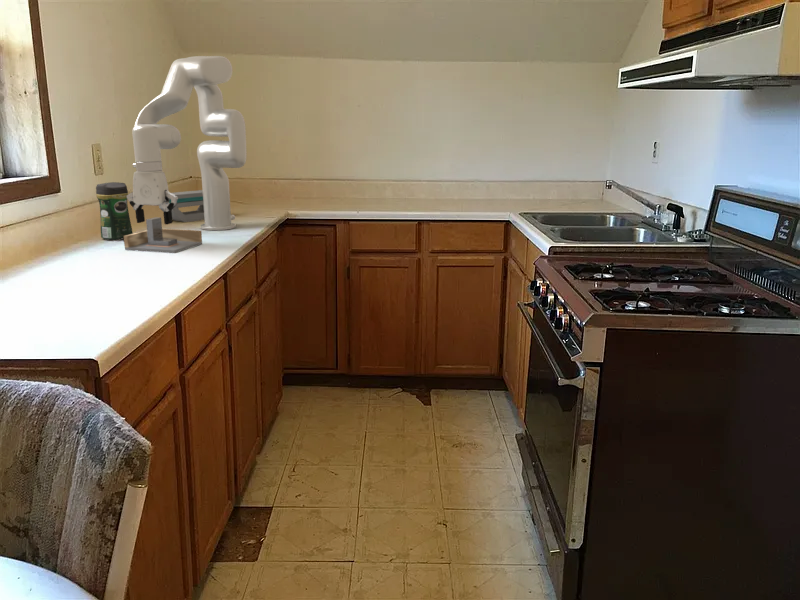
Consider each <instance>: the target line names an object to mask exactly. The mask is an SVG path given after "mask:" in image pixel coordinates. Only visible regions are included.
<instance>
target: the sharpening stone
mask: <svg viewBox="0 0 800 600" xmlns="http://www.w3.org/2000/svg"><path fill="white" fill-rule="evenodd" d="M171 193H172V194H173V195H175V196H177V197H178V200H177V203H176V206H175V207H174V208H173V210H172V221H175V222H181V223H190V222H199V221H203V220H204V205H203V190H202V189H198V190H189V191H187V190H185V191H178V192H177V191H176V192H171ZM169 203H171V199H170V198H169ZM197 206H198V207H197ZM189 207H197V209H196V210H189V211H181V210H180V209H179V208H189ZM158 208H159V209H160V210H161V211H162V212H164V211H165V210H164V209H163V208H162V206H161V205H158ZM204 221H205V220H204Z"/></svg>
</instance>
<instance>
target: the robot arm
mask: <svg viewBox="0 0 800 600" xmlns="http://www.w3.org/2000/svg"><path fill="white" fill-rule="evenodd" d="M232 76H233V66H232V63H231V61H230V59H228V58H227V57H226V56H221V55H211V56H210V55H208V56H207V55H197V56H196V55H194V56H188V57H184V58H177V59H175V60H174V61H173V62H172V63H171V65H170V68H169V70H168V73H167V76H166V78H165V82H164V84H163V87H162V89H161V93H159V95H157V96H156V97H154V98H152V100H151V101H149V103H148V104H146V105H145V106H144V107H143V108H142V109H141V110H140V112H139V113H138V116H137V118H136V120H135V123H134V126H133V127H132V130H131V132H132V133H131V135H132V142H133V143H132V144H133V152H134V160H135V161H134V163H132V167H133V168H135V170H136V171H134V172H133V176H132V177H133V178H132V192H130V193H128V195H127V196H126V197H127V202H128V203H129V205H130V206H131V207H132V210H134V211H135V219H136V223H137V224H140V223H141V224H142V223H144V222H146V218H145V210H144V206H158V207H159V205H161V206H162V208H163V209H164V210H165V211H164V212H163V211H162V212H163V214H162V215H163V222H164V225H170V224H172V223H173V220H172V210H173V208H174V207H175V206H176V203H177V200H178V197H177V196H175V195H173V194H172V193H173V192H170V191H169V185H168V181H167V177H166V173H165V171H163V163H162V153H161V152H162V151H161V150H173V149H176V148H177V147H178V146H179V145H180V143H181V141H182V135H181V132H180V129H178V128H177V127H176V126H174V125H172V124H166V123H164V124H163V123H161V124H159V122H160V121H161V120H163V119H164V118H167V117H169V116H172V115H174V114H177V113H179V112H181V111H183V110H184V109H186V108H187V107H188V103H189V101H190V98H191V95H192V92H193V89H194V90H195V93H196V95H197V102H198V115H199V116H198V119H199V127H200V131H201V133H202V134H203V135H205V136H208V137H221V138H222V137H224V138H225V137H226V138H227V137H228V140H217V139H216V140H215V139H214V140H213V139H211V140H204V141H202V142H201V143H199V144H198V146H197V149H196V155H197V160H198V164H199V169H200V175H201V186H202V187H201V188H202V189H201V190H203V205H204V223H202V224H200V229H202V230H207V231H224V230H225V231H226V230H232V229H235V228H236V226H237V224H236V223H233V222H232V221H233V220H235V219H236V216H235V215H234V214H232V213H231V195H230V179H229V177H228V175H227V173H226V171H225V170H224V168H225V169H226V168H227V169H239V168H243V166H245V164H246V161H247V136H246V135H247V132H246V130H247V128H246V121H245V118H244V115H243V114H242V113H241V111H239V110H237V109H234V108H225V107H224V99H223V98H224V97H223V92H222V90H221V89H220V87H219V84H220V85H221V84H224V83H227V82H228V81H230V80H231V78H232ZM169 198H170V199H171V203H169Z"/></svg>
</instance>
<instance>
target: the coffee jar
mask: <svg viewBox="0 0 800 600" xmlns="http://www.w3.org/2000/svg"><path fill="white" fill-rule="evenodd" d="M95 189H96V190H95V193H96V194H95V195H96V198H97V200H98V203H99V211H100V212H99V213H100V214H99V215H100V219H99V220H100V237H101V239H103V240H104V241H105V240H106V241H109V240H116V241H118V240H119V239H120V240H124V236H125V235H129V234H133V227H132V222H131V219H130V218H131V217H130V212H129V206H128V199H127V197H126V196H127V195H128V194H129V191H128V187H127V185H126V183H124V182H119V181H118V182H116V181H115V182H114V181H112V182H105V183H98V184H96V186H95Z"/></svg>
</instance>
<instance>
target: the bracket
mask: <svg viewBox="0 0 800 600" xmlns="http://www.w3.org/2000/svg"><path fill="white" fill-rule="evenodd" d="M145 222H146V230H147V236H148V245H155V246H171V245H174V244H177V239H171V238H163V234H162V229H163V223H162V217H158V216H155V217H151V218H147V219H146V218H145Z"/></svg>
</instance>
